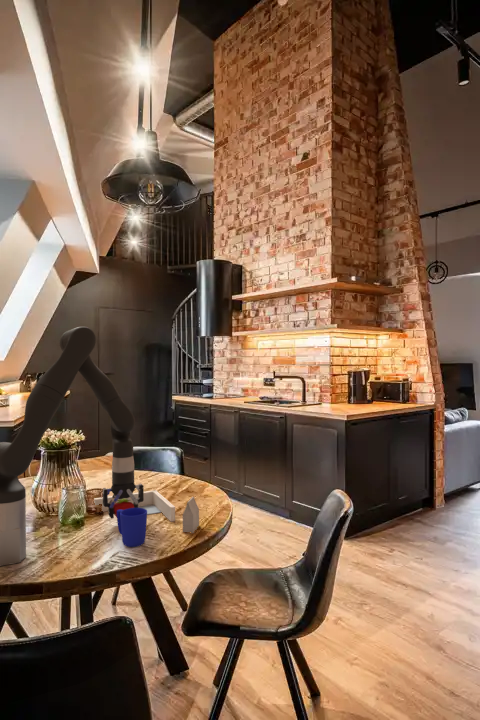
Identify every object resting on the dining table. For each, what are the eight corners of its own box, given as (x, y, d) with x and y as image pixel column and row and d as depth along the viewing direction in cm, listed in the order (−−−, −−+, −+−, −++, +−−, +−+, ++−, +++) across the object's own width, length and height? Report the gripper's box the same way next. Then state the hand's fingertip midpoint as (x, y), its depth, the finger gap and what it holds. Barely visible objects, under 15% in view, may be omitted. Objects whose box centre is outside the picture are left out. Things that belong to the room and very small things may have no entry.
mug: (128, 534, 153) (128, 503, 153) (152, 543, 145) (152, 511, 145) (107, 541, 147) (107, 509, 147) (131, 551, 139) (131, 518, 139)
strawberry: (132, 526, 160) (132, 497, 160) (110, 526, 160) (110, 497, 160) (136, 520, 166) (135, 492, 166) (114, 520, 166) (114, 492, 166)
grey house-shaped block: (199, 526, 160) (198, 496, 160) (193, 533, 154) (193, 502, 154) (188, 525, 161) (188, 496, 161) (182, 532, 154) (182, 502, 154)
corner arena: (175, 520, 165) (175, 506, 165) (106, 532, 155) (106, 517, 155) (156, 502, 187) (156, 489, 187) (94, 511, 176) (93, 498, 176)
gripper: (104, 473, 157) (104, 522, 157) (146, 469, 163) (146, 516, 163) (100, 469, 163) (100, 516, 163) (140, 464, 170) (141, 510, 170)
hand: (123, 516), depth 163 cm, fingers closed on strawberry, 7 cm apart
